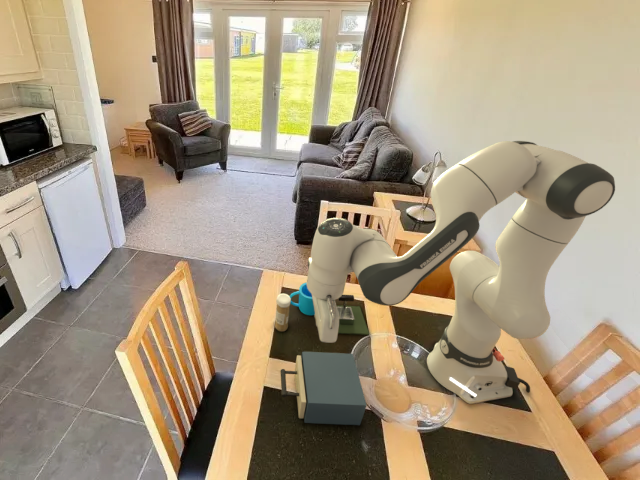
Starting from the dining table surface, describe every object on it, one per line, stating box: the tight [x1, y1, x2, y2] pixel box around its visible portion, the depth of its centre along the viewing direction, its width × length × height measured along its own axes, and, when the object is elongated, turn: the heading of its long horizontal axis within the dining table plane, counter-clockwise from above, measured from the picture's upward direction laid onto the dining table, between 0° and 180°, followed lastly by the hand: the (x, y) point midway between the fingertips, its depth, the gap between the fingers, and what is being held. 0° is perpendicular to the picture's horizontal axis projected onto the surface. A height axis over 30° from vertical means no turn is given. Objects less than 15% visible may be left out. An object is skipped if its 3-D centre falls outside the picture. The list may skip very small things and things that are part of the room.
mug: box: [289, 281, 315, 316], centre depth 115 cm, size 12×8×8 cm
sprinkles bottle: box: [274, 293, 292, 332], centre depth 106 cm, size 5×5×14 cm
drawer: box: [280, 354, 308, 419], centre depth 87 cm, size 18×13×7 cm
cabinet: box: [300, 351, 368, 426], centre depth 87 cm, size 15×14×9 cm
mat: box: [336, 304, 370, 336], centre depth 113 cm, size 16×12×1 cm
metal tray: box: [337, 294, 355, 325], centre depth 110 cm, size 7×5×11 cm
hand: (318, 322), depth 81 cm, fingers closed
